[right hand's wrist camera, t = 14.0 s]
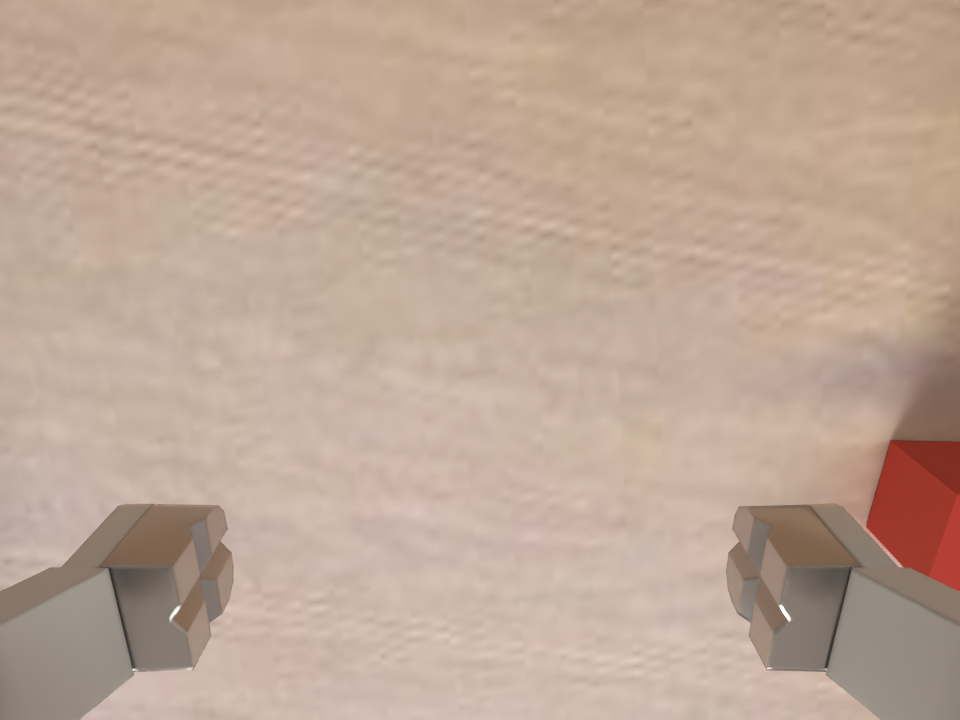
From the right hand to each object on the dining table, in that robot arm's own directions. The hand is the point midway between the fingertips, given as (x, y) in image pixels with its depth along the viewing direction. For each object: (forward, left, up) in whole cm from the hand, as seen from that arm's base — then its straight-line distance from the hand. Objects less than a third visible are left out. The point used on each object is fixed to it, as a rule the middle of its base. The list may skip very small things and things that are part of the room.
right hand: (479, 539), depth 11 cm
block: (+17, -16, -18) cm, 30 cm away
